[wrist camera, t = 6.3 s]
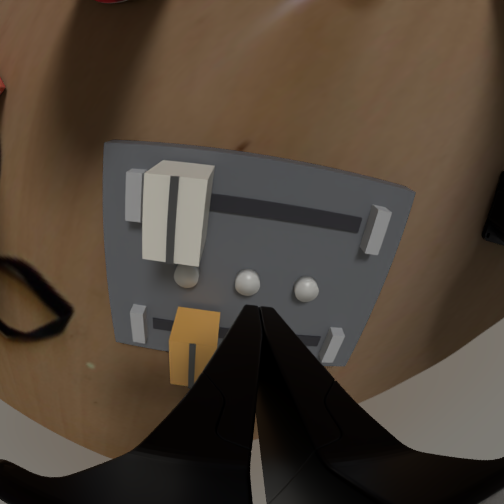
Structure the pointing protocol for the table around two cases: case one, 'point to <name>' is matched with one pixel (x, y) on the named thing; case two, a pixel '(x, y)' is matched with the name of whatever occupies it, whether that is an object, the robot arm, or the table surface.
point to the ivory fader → (176, 211)
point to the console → (255, 246)
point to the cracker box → (1, 86)
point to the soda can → (110, 1)
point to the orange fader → (192, 344)
